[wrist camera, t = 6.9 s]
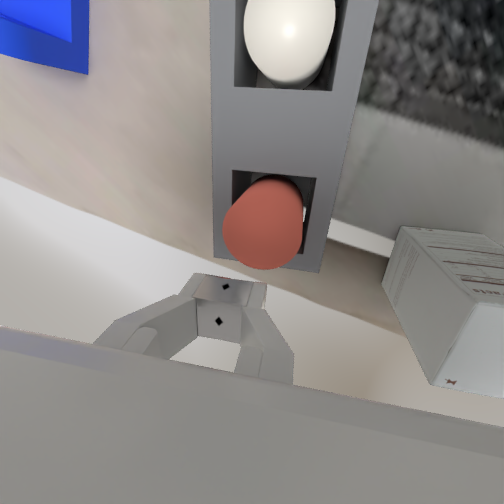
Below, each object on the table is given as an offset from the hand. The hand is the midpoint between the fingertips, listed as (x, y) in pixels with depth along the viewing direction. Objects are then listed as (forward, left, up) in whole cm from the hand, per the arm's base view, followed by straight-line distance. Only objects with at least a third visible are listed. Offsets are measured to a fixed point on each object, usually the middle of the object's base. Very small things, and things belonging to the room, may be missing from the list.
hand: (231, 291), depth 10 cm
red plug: (0, 0, -12) cm, 12 cm away
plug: (0, -11, -17) cm, 20 cm away
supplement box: (-16, +5, -18) cm, 25 cm away
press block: (0, -6, -17) cm, 18 cm away
